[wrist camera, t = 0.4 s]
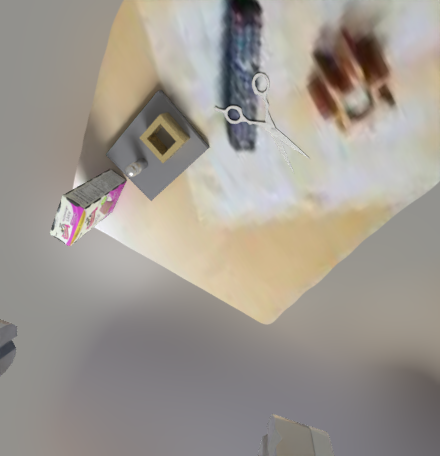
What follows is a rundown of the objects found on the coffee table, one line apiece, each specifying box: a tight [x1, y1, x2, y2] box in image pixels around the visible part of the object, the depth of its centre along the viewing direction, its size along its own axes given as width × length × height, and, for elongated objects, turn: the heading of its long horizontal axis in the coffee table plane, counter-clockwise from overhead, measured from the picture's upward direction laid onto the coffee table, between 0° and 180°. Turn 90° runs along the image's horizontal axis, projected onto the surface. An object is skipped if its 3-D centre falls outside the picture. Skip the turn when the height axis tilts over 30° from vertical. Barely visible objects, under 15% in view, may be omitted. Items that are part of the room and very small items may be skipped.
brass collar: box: [140, 112, 190, 163], centre depth 52 cm, size 6×6×4 cm
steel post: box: [125, 158, 148, 177], centre depth 55 cm, size 2×2×6 cm
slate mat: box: [106, 90, 209, 201], centre depth 57 cm, size 19×14×2 cm
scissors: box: [214, 73, 310, 172], centre depth 51 cm, size 11×1×20 cm
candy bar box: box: [50, 169, 127, 246], centre depth 58 cm, size 11×5×16 cm, turn 147°
